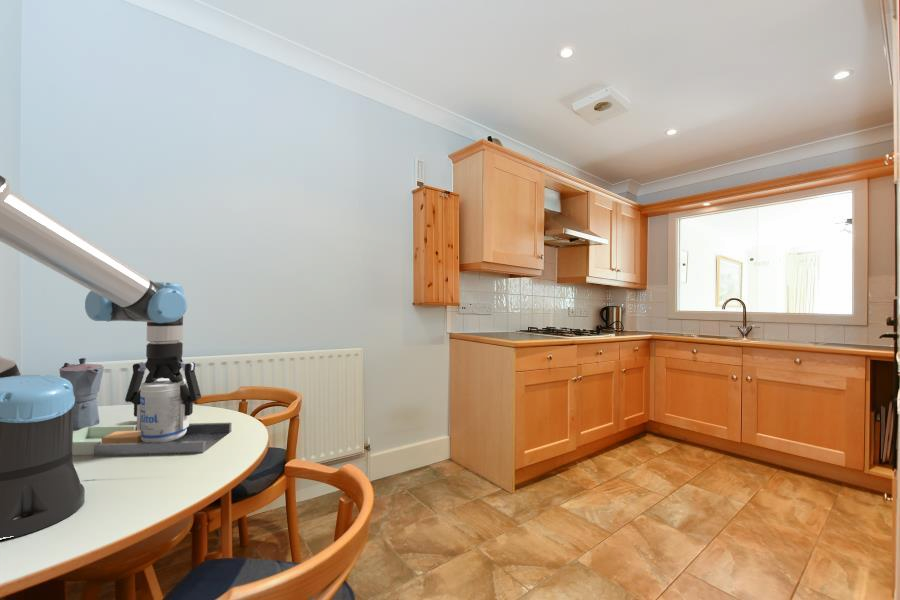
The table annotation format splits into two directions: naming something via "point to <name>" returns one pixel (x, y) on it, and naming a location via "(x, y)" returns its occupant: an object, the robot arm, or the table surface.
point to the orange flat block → (132, 437)
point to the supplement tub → (161, 411)
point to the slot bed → (170, 442)
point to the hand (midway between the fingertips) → (163, 428)
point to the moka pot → (84, 391)
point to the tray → (94, 437)
